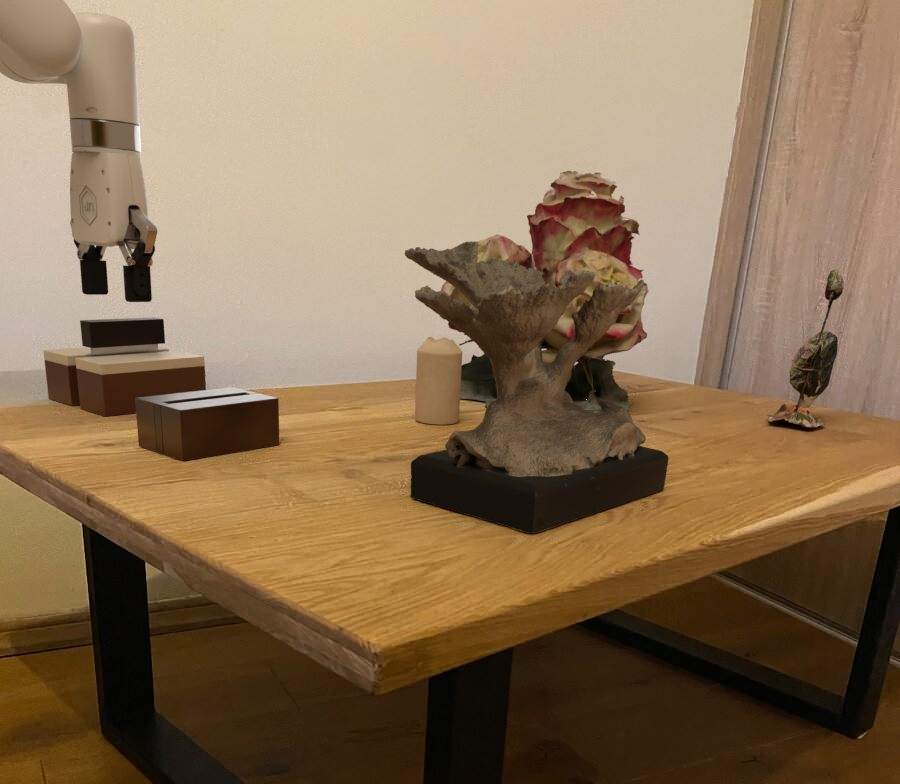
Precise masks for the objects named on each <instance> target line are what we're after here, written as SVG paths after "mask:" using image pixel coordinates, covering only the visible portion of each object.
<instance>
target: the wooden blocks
mask: <svg viewBox="0 0 900 784" xmlns="http://www.w3.org/2000/svg"><path fill="white" fill-rule="evenodd" d="M42 351H43V352H42V353H43V361H44V369H45V379H46V386H47V394H48V400H51V401H55V402H58V403H61V404H64V405H67V406H70V407H76V406H77V407H78V406H79V409H80V410H83V411H86V412H89V413H92V414H95V415H99V416H103V417H105V418H106V417H114V416H123V415H131V414H136V404H135V398H138V397H147V396H156V395H166V394H175V393H184V392H193V391H202V390H207V384H206V365H205V364H206V362H205V361H206V360H205V356H204V355H199V354H196V353H195V354H194V353H190V352H185V351H181V350H170V349H169V348H166V347H162V346H158V352H153V353H139V354H125V355H111V356H97V357H91V349H90V348H89V347H84V346H83V347H71V348H69V347H68V348H53V349H43V350H42Z"/></svg>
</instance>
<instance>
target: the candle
mask: <svg viewBox="0 0 900 784" xmlns="http://www.w3.org/2000/svg"><path fill="white" fill-rule="evenodd" d="M462 365H463V350H462V349H461V348H460V346H459V345H458V344H457V343H456V342H455V341H454V339H453V338H451V339H449V338H448V337H445V336H444V337H440V338H437V339H435V338H434V337H432V336H427V337H426V339H425V340H424V341H423V343H422V344H421V345H420V346H419V347H418V348H417V349H416V368H415V369H416V370H415V398H414V419H415V421H416V422H418V423H422V424H426V425H427V424H428V425H438V426H439V425H443V426H444V425H452V424H457V423H458V422H459V419H460V408H461V407H460V406H461V405H460V404H461V403H460V402H461V398H460V388H461V369H462Z"/></svg>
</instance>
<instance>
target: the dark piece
mask: <svg viewBox="0 0 900 784" xmlns="http://www.w3.org/2000/svg"><path fill="white" fill-rule="evenodd" d="M79 324H80V335H81V345H82V347H83V348H84V347H89V348H90V349H91V357H97V356H111V355H125V354H139V353H153V352H158V347H159V345H163V344H166V334H165V320H164V318H159V317H154V316H153V317H151V316H150V317H128V318H104V319H103V318H102V319H80V320H79Z"/></svg>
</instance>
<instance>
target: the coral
mask: <svg viewBox="0 0 900 784" xmlns="http://www.w3.org/2000/svg"><path fill="white" fill-rule="evenodd" d="M478 245H479V244H478V242H477V240H475V241H472V240H471V241H464V242H462V243H460V244H458V245H456V246H455V247H452V248H446V249H443V250H438V249H435V248H431V247H430V248H429V249H426V248H425V247H423V248H421V247H420V246H416V247H415V248H413V247H411V248H408V249H405V250H404V256H405V257H406V258H407V259H408V260H411V261H412V262H414V263H415V264H417V265H418V266H419V267H421V268H422V269H424V270H426V271H428V272H429V273H431V274H433V275H435V276H436V277H439V278H440V279H442V280H443V281H445V282H446V281H447V282H448V283H449V284H451V285H453V286H454V287H456V289H458V290H459V291H460V292H461V293H462V294H463V295H464V296H465V297H466V298H467V299H468V300H469V302H470V303H471V304H472V305H473V306H474V307H475V308H476V309H478V310H479V312H476V311H473V310H472V308H470V307H469V306H467V305H466V304H465V303H464V302H459V301H457V300H456V299H452V298H451V297H450V295H448V294H447V293H446V292H445V291H444V290H441V289H440V290H438V291H436V290H434V289H432V287H430V286H429V285H428V284H427V285H425V286H421V287H420V289H416V290H414V297H415V298H416V300H417V301H419V302H420V303H422V304H423V305H424V306H425V307H427V308H428V309H430V310H432V311H433V312H434V313H435V314H437V315H439V317H440V318H441V319H442V320H445V321H447V322H450V323H451V324H453V325H454V326H455V327H456V328H458V329H459V330H460V331H461V332H460V333H462V334H464V333H465V334H466V335H465V336H466V337H468V338H469V340H471V339H472V340H473V342H474V343H475V344H476V345H477V346H478V348H479V349H480V351H482V352H483V354H486V355H487V356H488V357H489V359H490V361H491V364H492V370H493V374H494V377H495V380H496V388H497V399H496V400H495V401H493V402H491V403H490V404H489V405H488V407H486V409H485V412H484V415H483V418H482V421H481V422H480V423H479V424H478V425H477V426H476V427H475V428H473V429H471V430H467V431H465V430H464V431H463V430H462V431H459V430H455V431H453V432H452V433H451V434H450V436H449V439H448V441H447V442H445V445H444V447H445V449H444V450H439V451H434V452H429V453H425V454H424V453H423V454H420V455H418V456H417V457H416V458H414V459H413V460H411V462H410V498H412V499H414V500H418V501H421V502H423V503H427V504H431V505H433V506H436V507H440V508H444V509H447V510H450V511H455V512H458V513H461V514H465V515H468V516H471V517H475V518H479V519H481V520H485V521H488V522H492V523H495V524H497V525H502V526H505V527H509V528H511V529H514V530H517V531H520V532H524V533H528V534H536V533H540V532H544V531H545V530H549V529H552V528H556V527H558V526H561V525H563V524H566V523H571V522H573V521H576V520H578V519H583V518H585V517H587V516H591V515H595V514H597V513H600V512H603V511H606V510H609V509H612V508H615V507H618V506H621V505H624V504H628V503H630V502H633V501H636V500H640V499H642V498H647V497H648V496H651V495H654V494H657V493H660V492H662V491H665V485H666V478H667V473H668V472H667V471H668V465H669V455H668V454H667V453H666V452H664V451H662V450H659V449H656V448H650V447H645V446H642V445H643V444H644V443H645V442H646V439H647V437H646V435H645V433H644V432H643V431H642V430H641V428H639V427H638V426H637V425H636V423H634V421H633V418H632V416H631V414H630V412H627V410H626V409H625V408H623V407H615V408H613V409H610V410H608V411H607V412H603V413H599V414H597V413H590V412H587V411H585V410H584V409H582V408H581V407H579V406H578V405H576V404H575V403H574V402H573V400H572V398H571V396H570V395H569V394H568V393H567V392H566V391H565V388H566V384H567V381H568V377H569V374H570V373H571V369H572V368H573V366H574V365H576V364H577V362H576V361H577V360H578V359H579V358H580V357H582V356H583V355H584V353H585V352H586V351H587V350H588V348H589V347H590V346H592V344H594V343H595V342H596V341H597V340H598V339H600V338H601V337H602V336H603V335H604V334H605V333H606V332H607V331H608V330H609V328H610V327H611V325H612V324H613V323H614V321H615V319H616V318H617V317H618V315H619V314H621V312H623V311H624V309H625V308H626V307H627V306H630V305H631V302H633V301H634V300H635V298H636V297H637V295H638V294H639V293H640V291H641V289H642V288H643V286H644V283H645V280H644V279H643V278H642V279H641V278H640V279H639V280H638V281H639V282H638V283H637V285H634V287H633V288H632V289H631V288H630V289H629V287H628V285H625V284H624V285H622V284H621V283H619V282H614V284H607V285H598V286H597V287H595V290H594V291H593V295H592V297H591V299H590V300H589V301H587V300H585V302H584V303H583V306H581V307H580V310H579V311H576V312H573V313H572V315H571V316H572V319H573V320H574V325H575V333H576V334H575V338H573V339H572V340H571V341H570V342H568V343H567V344H564V345H562V347H561V349H560V350H559V352H558V353H557V355H556V357H555V360H554V361H552V362H551V363H546V362H544V361H543V359H542V351H543V349H542V348H541V345H542V343H543V341H544V338H545V336H546V335H547V334H548V333H549V332H550V331H551V330H552V328H553V327H554V326H555V325H556V324H557V323H558V321H559V319H560V317H561V315H563V312H564V310H565V309H566V307H567V306H568V305H569V303H570V302H572V301H573V299H574V298H575V297H577V296H579V295H580V294H581V293H583V292H584V291H585V290H586V288H587V287H588V286H589V285H590V284H591V282H592V281H593V280H594V277H595V275H596V274H595V273H594V272H590V271H585V270H582V269H579V270H574V271H573V272H572V271H571V270H569V271H565V272H564V273H565V275H562V277H561V278H560V281H559V286H558V287H557V288H556V286H555V276H556V273H555V272H554V273H553V274H552V276H551V277H549V282H548V283H547V284H545V281H544V279H543V278H542V277H541V276H542V275H543V273H542V272H541V271H538V270H535V269H532V268H528V270H527V269H526V268H525V267H524V266H521V265H520V266H519V264H517V262H514V260H513V261H511V262H510V261H508V260H507V261H502V260H501V259H499V260H498V259H497V258H490V259H489V260H487V262H484V261H480V262H479V263H478V262H477V261H478V256H477V255H478ZM627 287H628V288H627Z"/></svg>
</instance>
